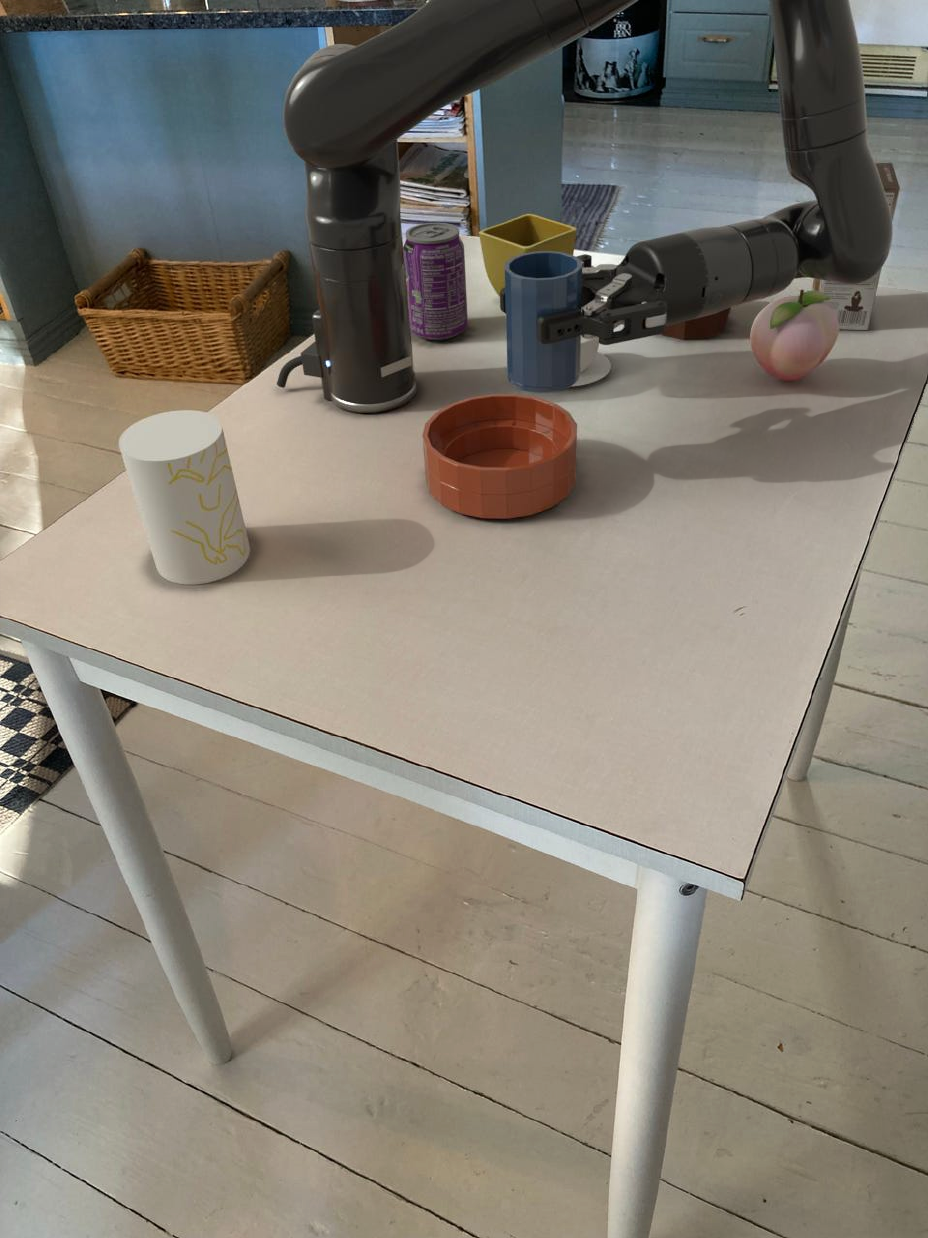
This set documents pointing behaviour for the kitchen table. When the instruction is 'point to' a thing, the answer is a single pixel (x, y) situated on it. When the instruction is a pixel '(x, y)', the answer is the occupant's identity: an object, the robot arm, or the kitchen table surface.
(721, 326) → the muffin
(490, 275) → the flower pot
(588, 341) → the teacup
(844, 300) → the coffee box
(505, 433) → the bowl
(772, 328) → the decorative fruit
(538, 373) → the tumbler
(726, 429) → the kitchen table surface
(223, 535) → the cup
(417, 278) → the beverage can
